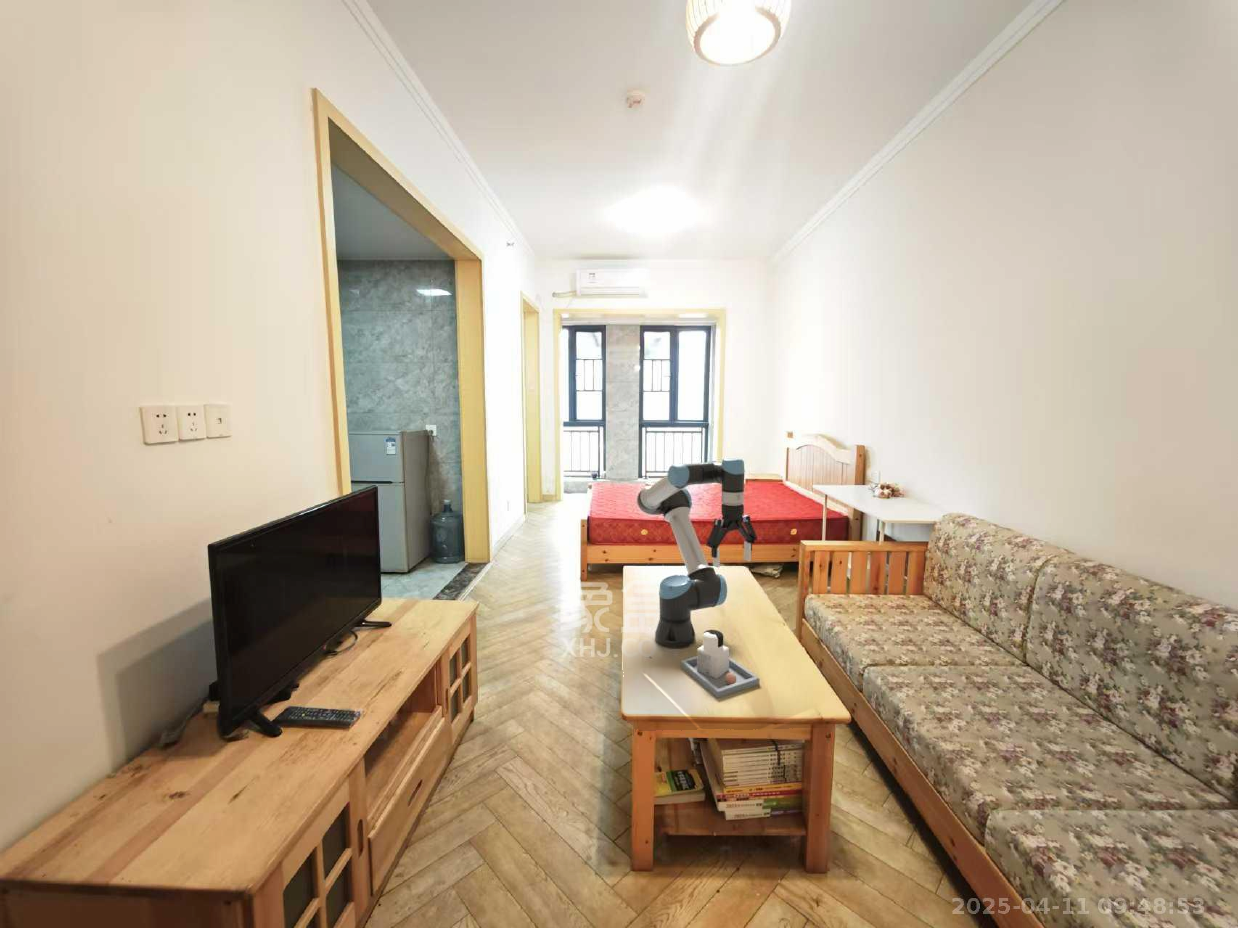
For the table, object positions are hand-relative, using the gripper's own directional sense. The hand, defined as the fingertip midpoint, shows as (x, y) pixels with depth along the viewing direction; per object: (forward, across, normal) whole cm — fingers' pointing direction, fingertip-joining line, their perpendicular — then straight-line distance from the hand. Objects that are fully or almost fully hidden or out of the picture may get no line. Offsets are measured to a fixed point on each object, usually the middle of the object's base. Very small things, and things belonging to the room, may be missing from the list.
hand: (732, 563), depth 166 cm
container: (+32, -14, -8) cm, 36 cm away
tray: (+33, -14, -11) cm, 37 cm away
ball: (+32, -14, -17) cm, 39 cm away
